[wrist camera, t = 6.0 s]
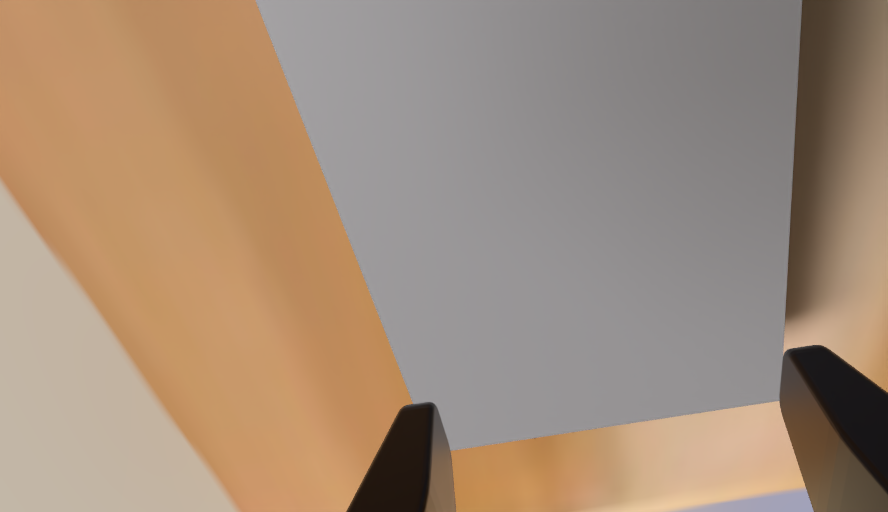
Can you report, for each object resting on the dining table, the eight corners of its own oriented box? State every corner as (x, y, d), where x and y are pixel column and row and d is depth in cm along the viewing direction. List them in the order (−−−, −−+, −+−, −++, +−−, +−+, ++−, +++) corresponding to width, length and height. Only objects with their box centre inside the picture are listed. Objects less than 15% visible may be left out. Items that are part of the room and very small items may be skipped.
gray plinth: (758, -197, 16) (811, -170, 14) (749, 332, 26) (780, 400, 24) (269, -72, 18) (244, -29, 16) (433, 384, 28) (432, 453, 25)
